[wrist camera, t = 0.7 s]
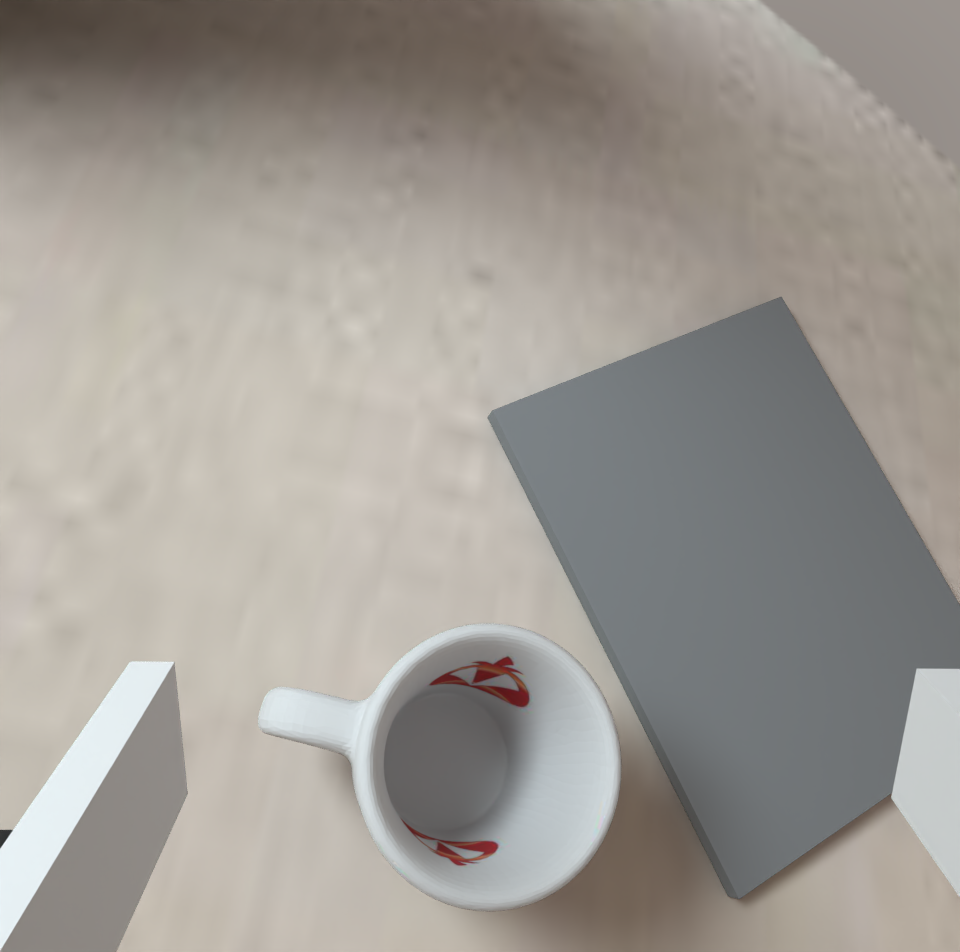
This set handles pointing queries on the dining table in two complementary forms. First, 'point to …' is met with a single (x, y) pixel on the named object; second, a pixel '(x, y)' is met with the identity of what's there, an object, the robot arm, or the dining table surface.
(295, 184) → the dining table surface
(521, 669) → the cup
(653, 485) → the mat
